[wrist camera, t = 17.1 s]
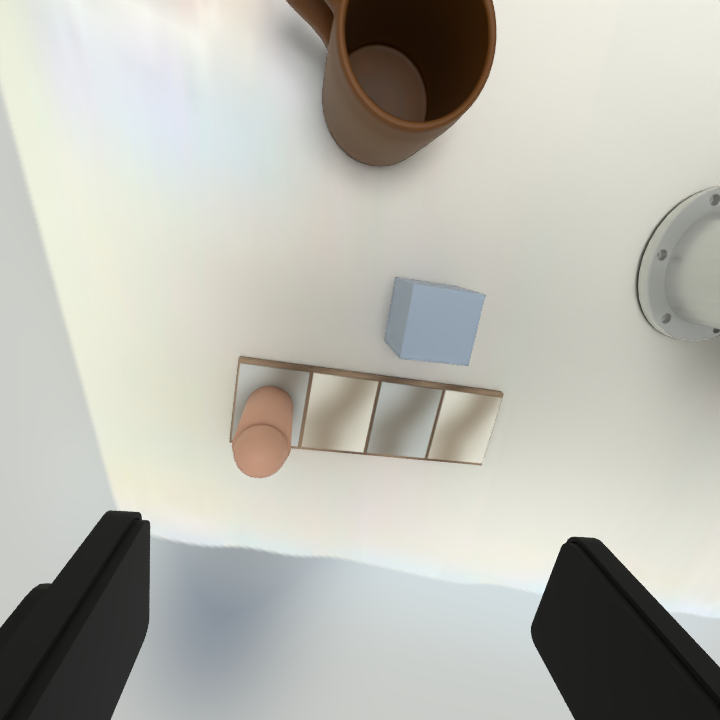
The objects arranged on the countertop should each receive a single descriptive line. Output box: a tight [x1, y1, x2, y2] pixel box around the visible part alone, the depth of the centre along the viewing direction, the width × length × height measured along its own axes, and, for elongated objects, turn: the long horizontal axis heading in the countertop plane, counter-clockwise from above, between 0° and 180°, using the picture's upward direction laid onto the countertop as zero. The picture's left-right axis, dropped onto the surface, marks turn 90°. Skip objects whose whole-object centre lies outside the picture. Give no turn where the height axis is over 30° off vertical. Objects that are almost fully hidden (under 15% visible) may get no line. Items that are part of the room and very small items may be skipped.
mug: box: [286, 0, 496, 166], centre depth 21 cm, size 12×8×9 cm, turn 56°
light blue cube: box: [384, 277, 485, 366], centre depth 28 cm, size 5×5×5 cm
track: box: [230, 356, 503, 465], centre depth 32 cm, size 22×7×1 cm, turn 79°
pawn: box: [232, 386, 293, 478], centre depth 26 cm, size 4×4×8 cm
